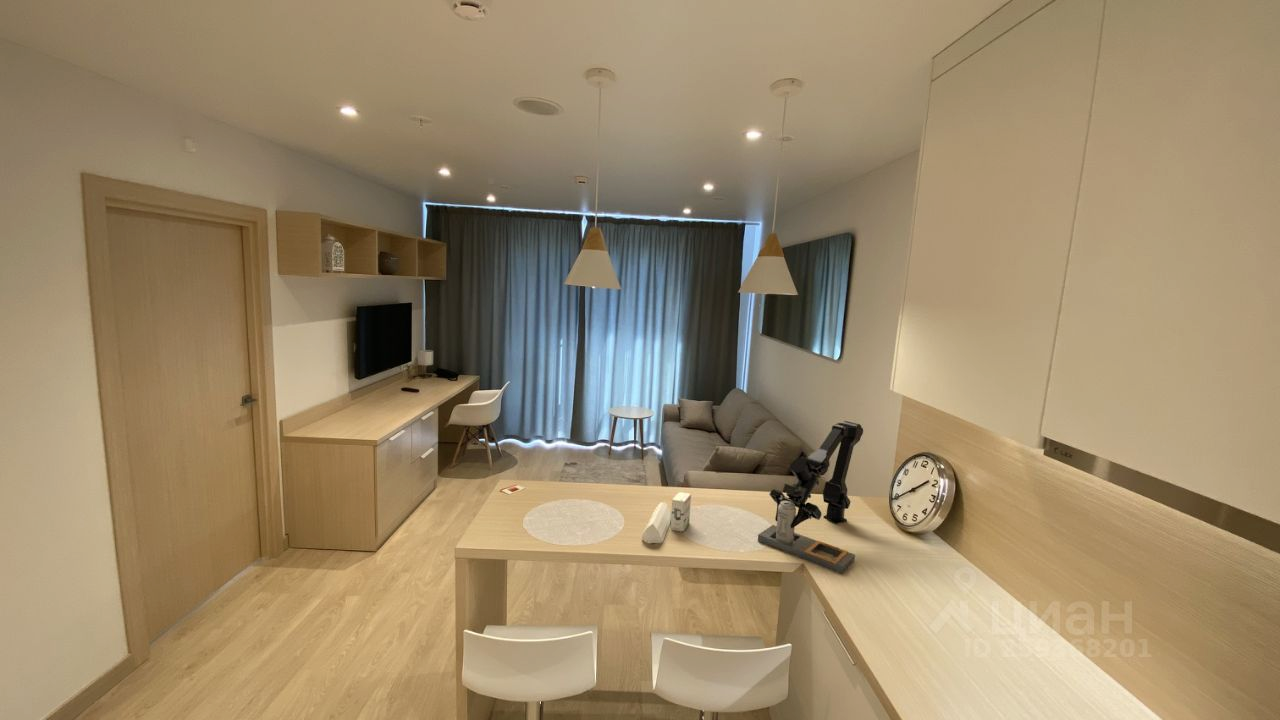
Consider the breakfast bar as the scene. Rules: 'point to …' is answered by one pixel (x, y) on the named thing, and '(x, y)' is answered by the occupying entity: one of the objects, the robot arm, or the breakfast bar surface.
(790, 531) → the energy drink can
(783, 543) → the grey flat block
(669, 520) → the pointed wooden block
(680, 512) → the ink box
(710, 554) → the breakfast bar surface
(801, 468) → the robot arm
